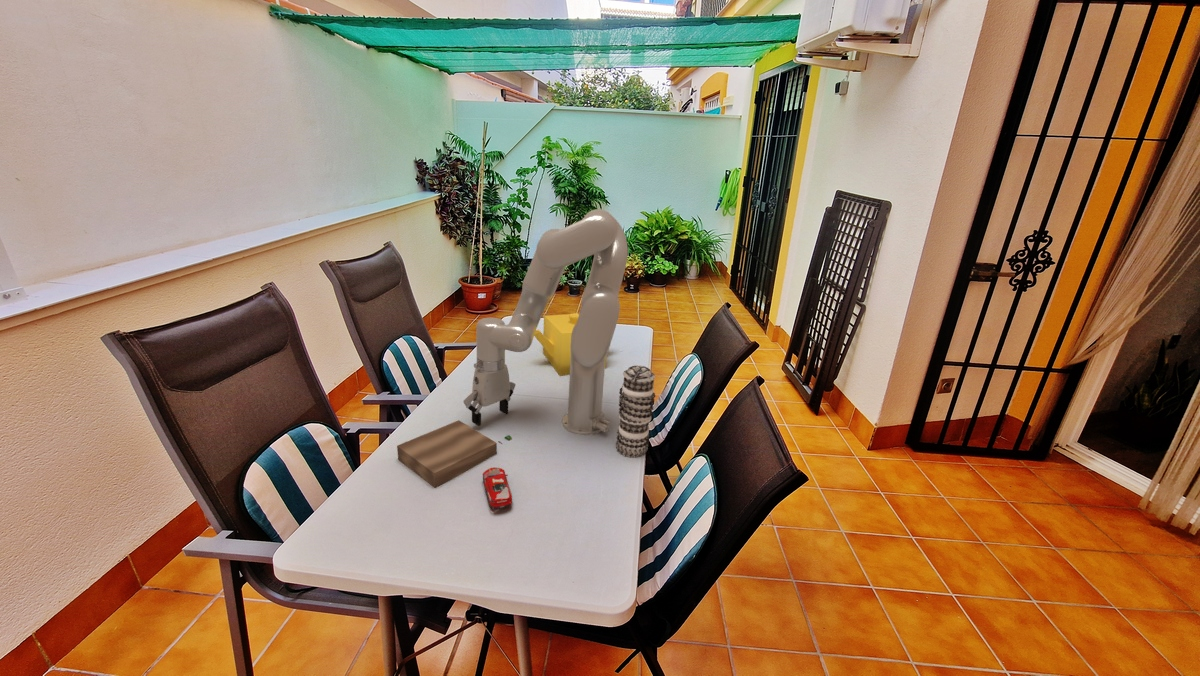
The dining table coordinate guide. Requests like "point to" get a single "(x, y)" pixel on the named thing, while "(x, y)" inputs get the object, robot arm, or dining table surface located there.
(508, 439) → the puzzle cube
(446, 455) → the block
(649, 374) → the decorative candle
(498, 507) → the race car
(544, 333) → the square teapot
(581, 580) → the dining table surface
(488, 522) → the dining table surface
